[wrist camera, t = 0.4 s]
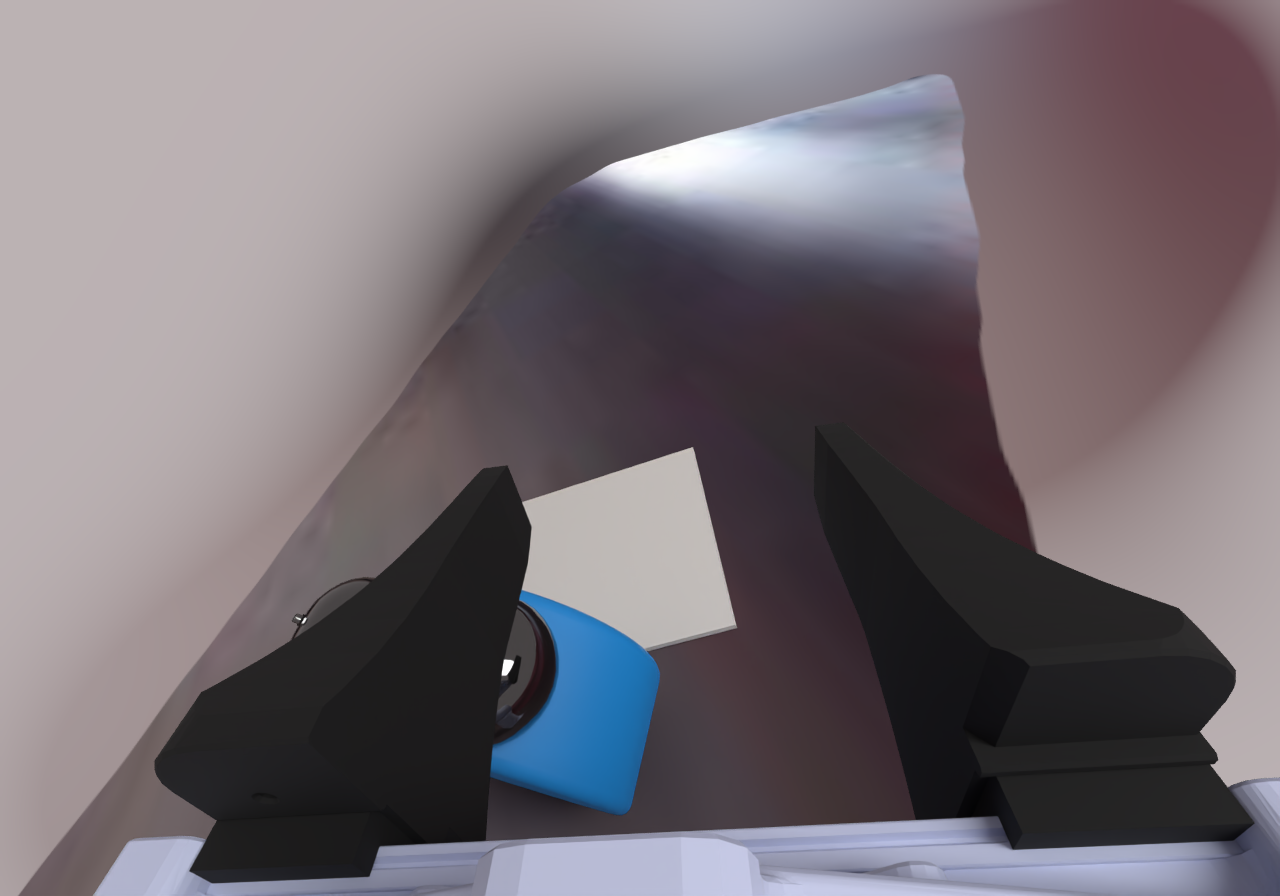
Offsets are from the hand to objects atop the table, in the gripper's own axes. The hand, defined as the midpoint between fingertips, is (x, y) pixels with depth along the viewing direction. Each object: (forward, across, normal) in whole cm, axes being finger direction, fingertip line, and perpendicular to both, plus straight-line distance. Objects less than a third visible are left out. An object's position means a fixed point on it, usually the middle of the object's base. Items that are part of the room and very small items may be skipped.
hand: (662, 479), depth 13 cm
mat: (+15, +9, +19) cm, 26 cm away
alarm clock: (+4, +8, +20) cm, 22 cm away
